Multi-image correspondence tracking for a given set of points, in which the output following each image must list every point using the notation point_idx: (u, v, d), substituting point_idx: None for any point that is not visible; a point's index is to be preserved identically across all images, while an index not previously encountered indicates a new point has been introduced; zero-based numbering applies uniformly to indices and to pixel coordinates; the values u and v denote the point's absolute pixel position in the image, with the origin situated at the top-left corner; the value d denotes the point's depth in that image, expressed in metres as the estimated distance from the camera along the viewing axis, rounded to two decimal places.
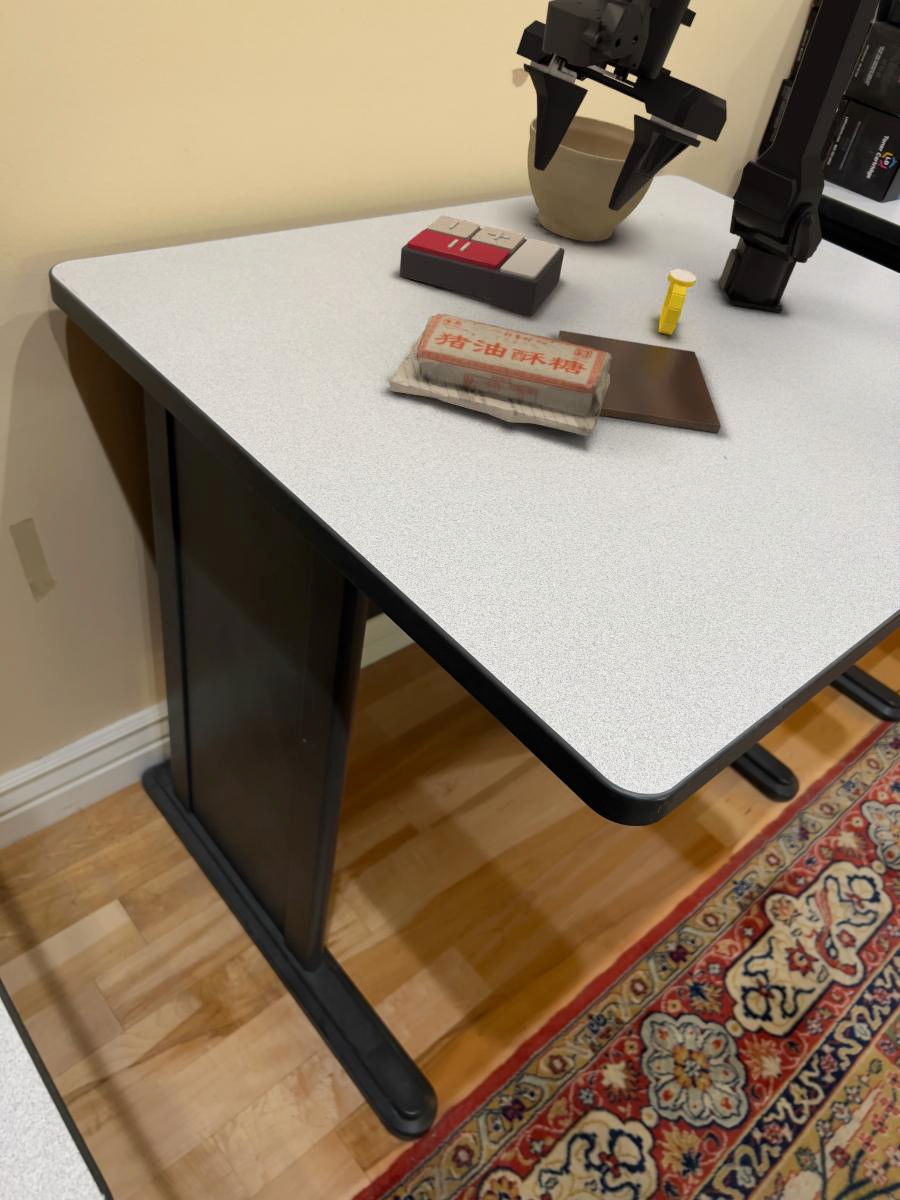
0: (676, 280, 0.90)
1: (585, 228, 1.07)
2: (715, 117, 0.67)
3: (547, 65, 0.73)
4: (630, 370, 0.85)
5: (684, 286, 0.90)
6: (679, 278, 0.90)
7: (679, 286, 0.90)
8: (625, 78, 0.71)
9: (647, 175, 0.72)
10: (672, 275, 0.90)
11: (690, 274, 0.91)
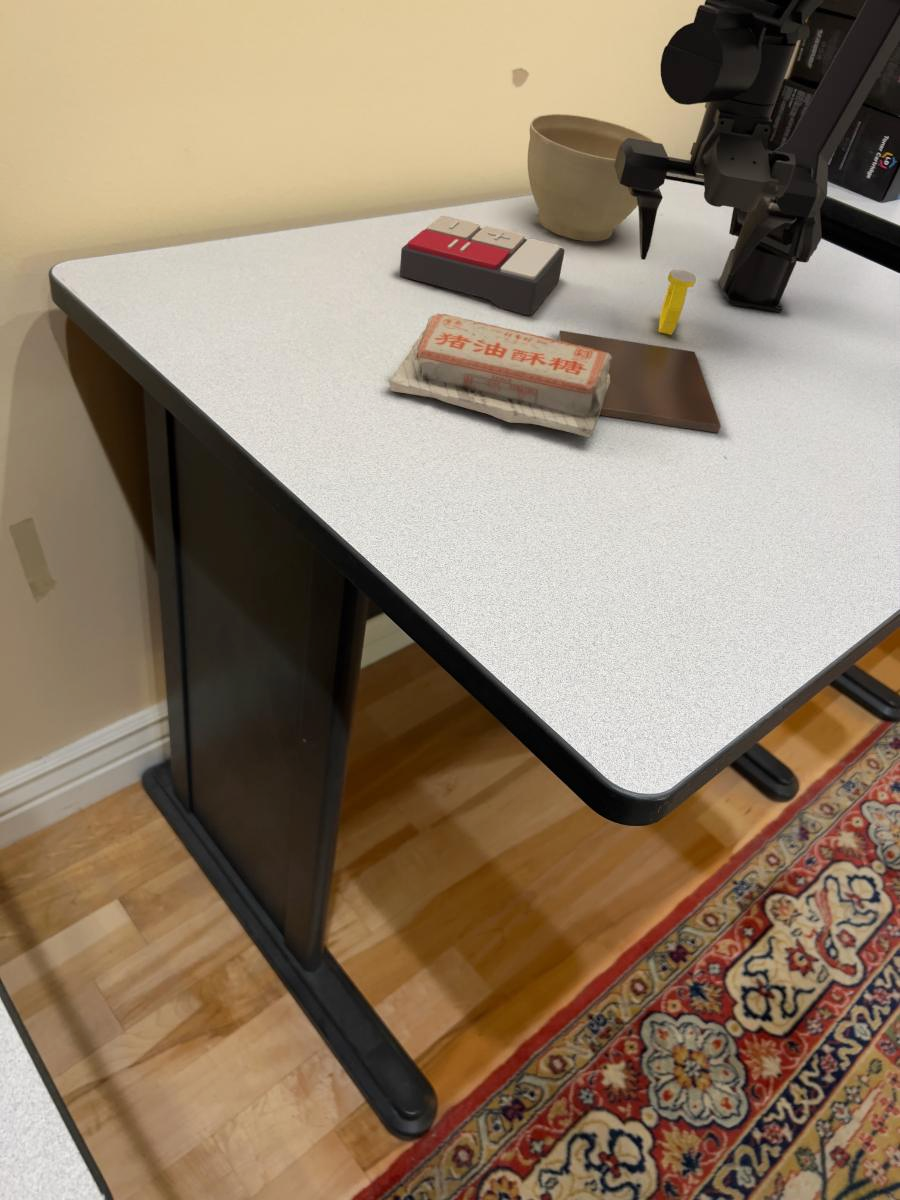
0: (676, 280, 0.90)
1: (585, 228, 1.07)
2: None
3: None
4: (630, 370, 0.85)
5: (683, 286, 0.90)
6: (679, 278, 0.90)
7: (679, 286, 0.90)
8: None
9: None
10: (672, 275, 0.90)
11: (690, 274, 0.91)
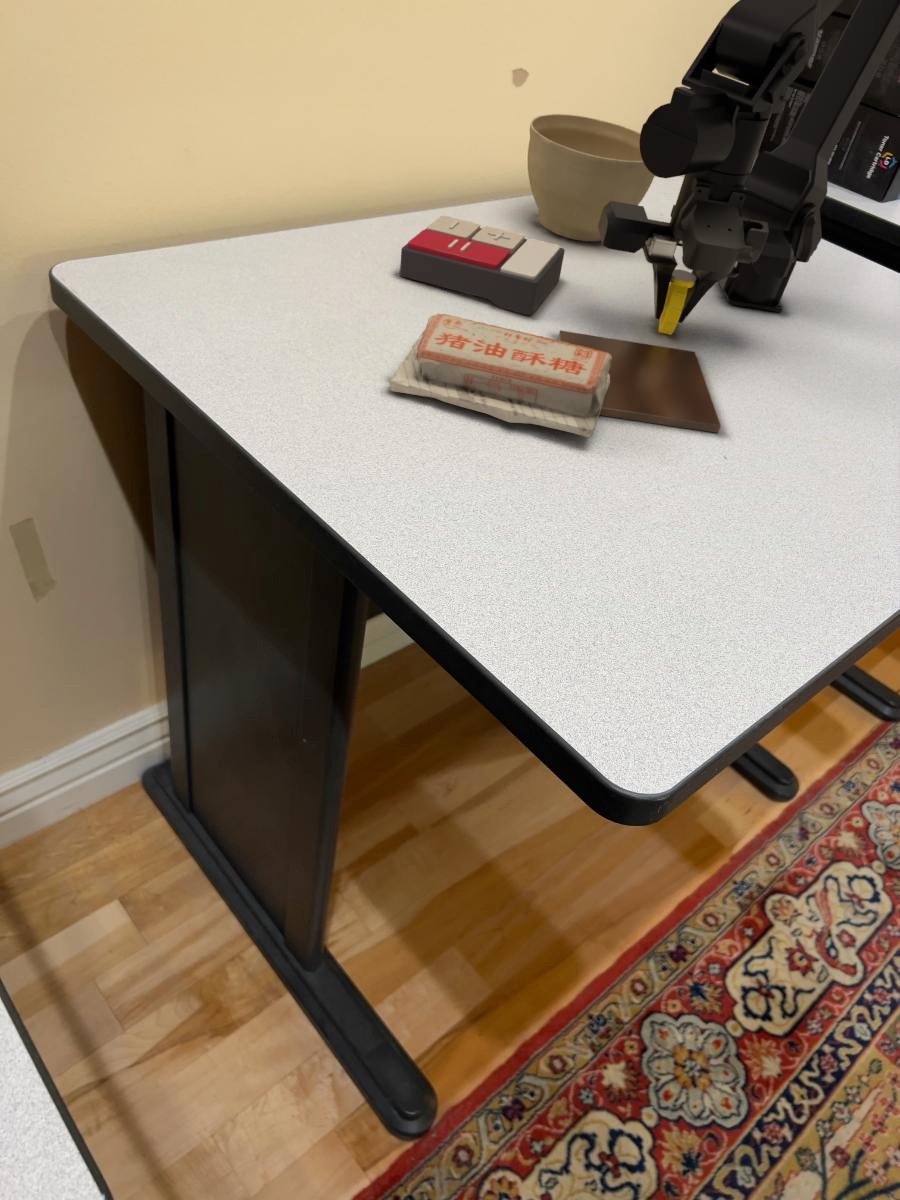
0: (676, 280, 0.90)
1: (585, 228, 1.07)
2: None
3: (670, 254, 0.87)
4: (630, 370, 0.85)
5: (684, 286, 0.90)
6: (679, 278, 0.90)
7: (679, 286, 0.90)
8: None
9: None
10: (672, 275, 0.90)
11: (690, 274, 0.91)
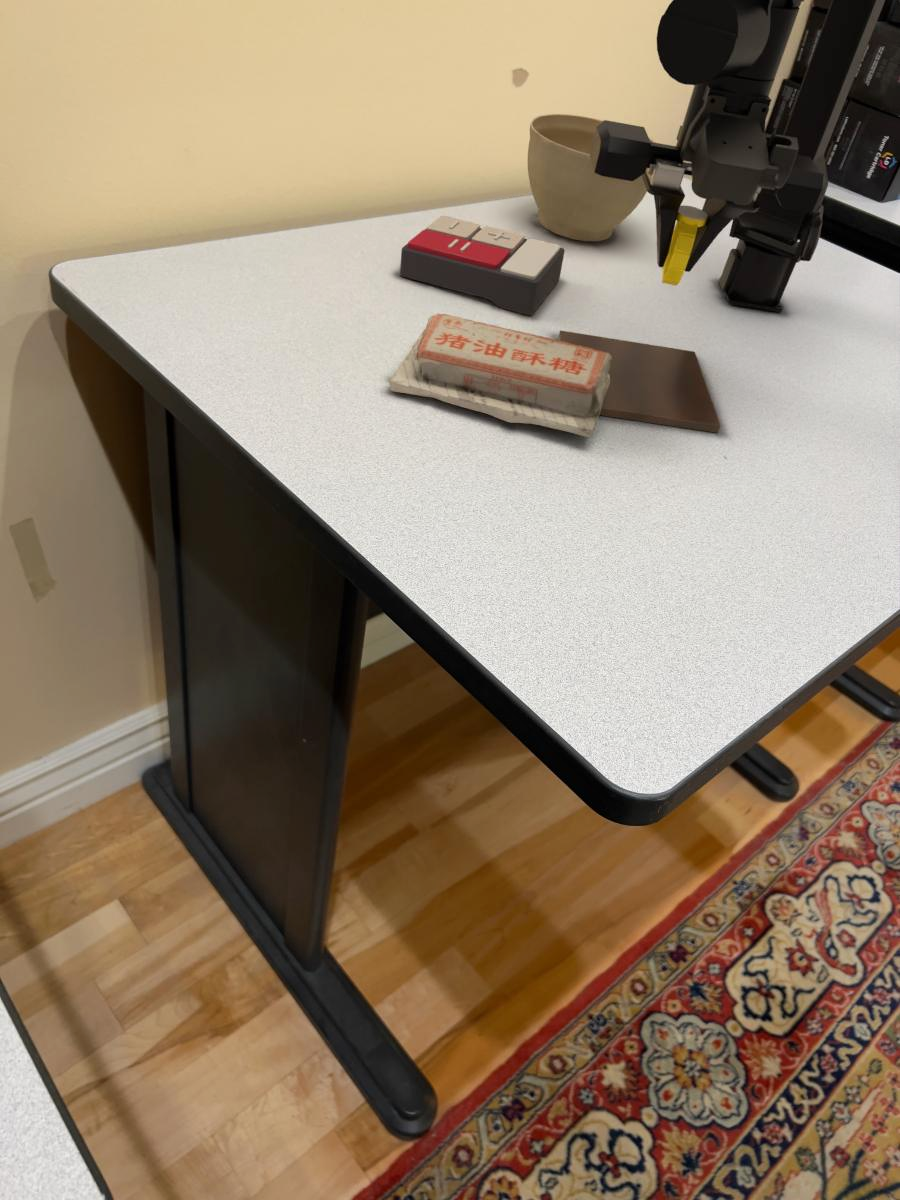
0: (684, 217, 0.74)
1: (585, 228, 1.07)
2: None
3: (676, 183, 0.72)
4: (630, 370, 0.85)
5: (693, 224, 0.75)
6: (687, 215, 0.75)
7: (687, 224, 0.75)
8: None
9: None
10: (679, 211, 0.75)
11: (700, 211, 0.76)
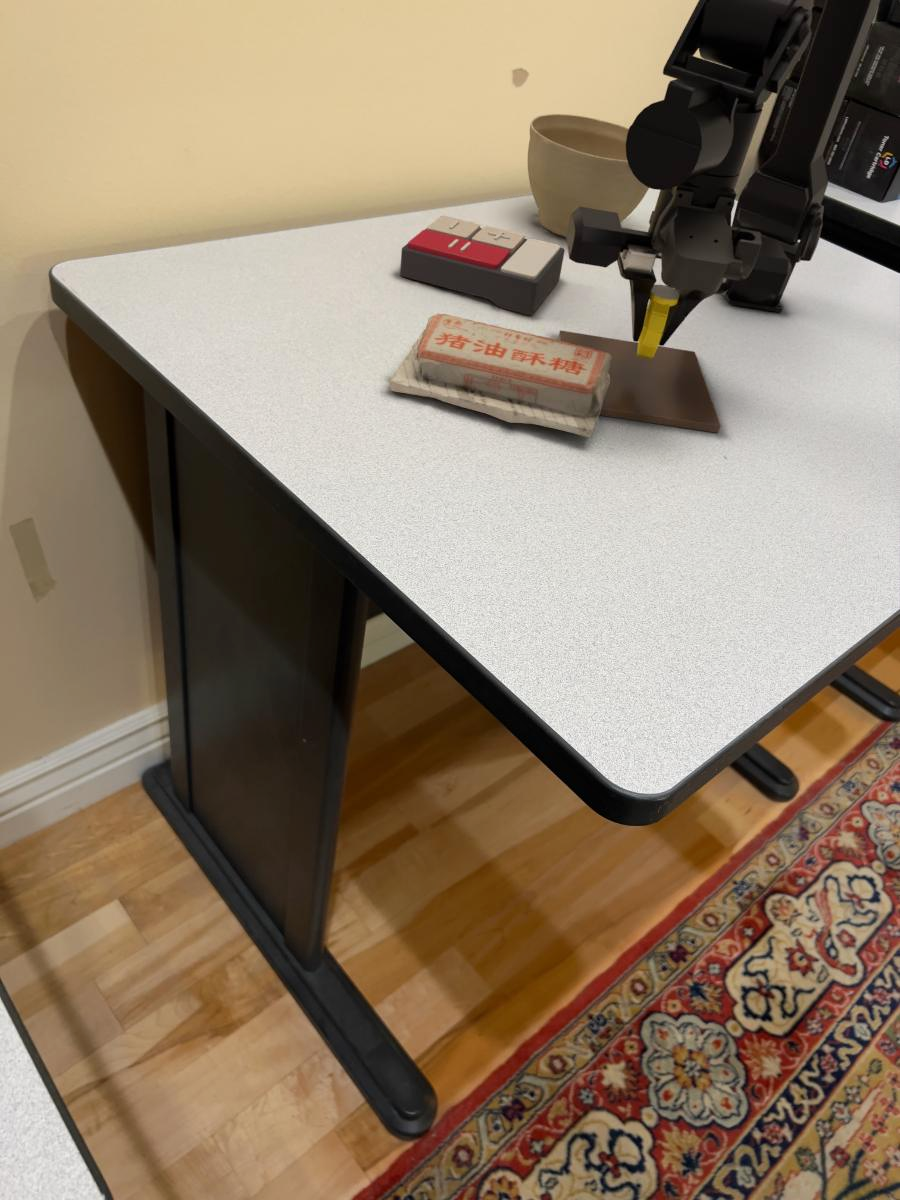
0: (656, 297, 0.78)
1: None
2: None
3: (648, 268, 0.75)
4: (630, 370, 0.85)
5: (665, 304, 0.78)
6: (660, 295, 0.78)
7: (660, 304, 0.78)
8: None
9: None
10: (652, 291, 0.78)
11: (673, 290, 0.79)
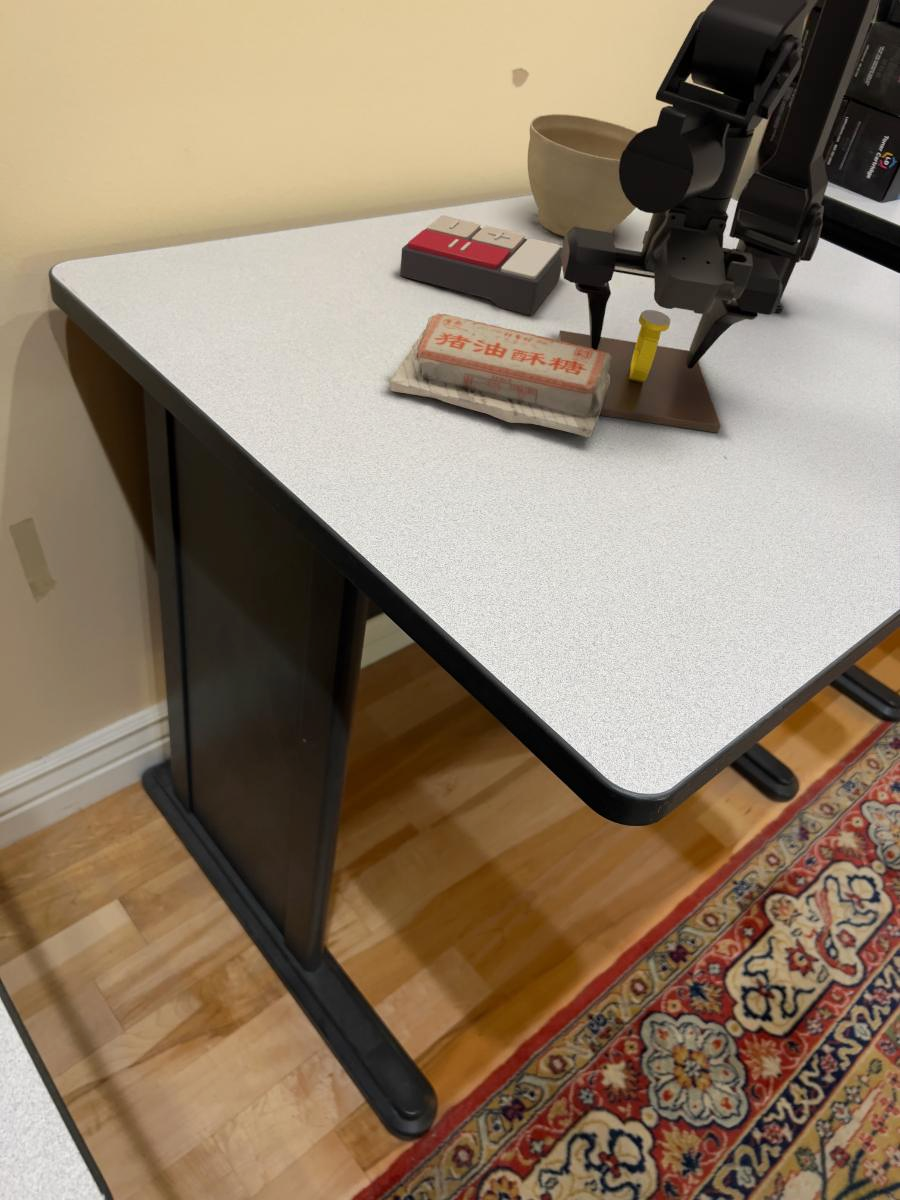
0: (648, 323, 0.79)
1: (585, 228, 1.07)
2: None
3: None
4: None
5: (656, 330, 0.79)
6: (651, 321, 0.79)
7: (651, 330, 0.79)
8: None
9: None
10: (643, 317, 0.80)
11: (664, 316, 0.80)
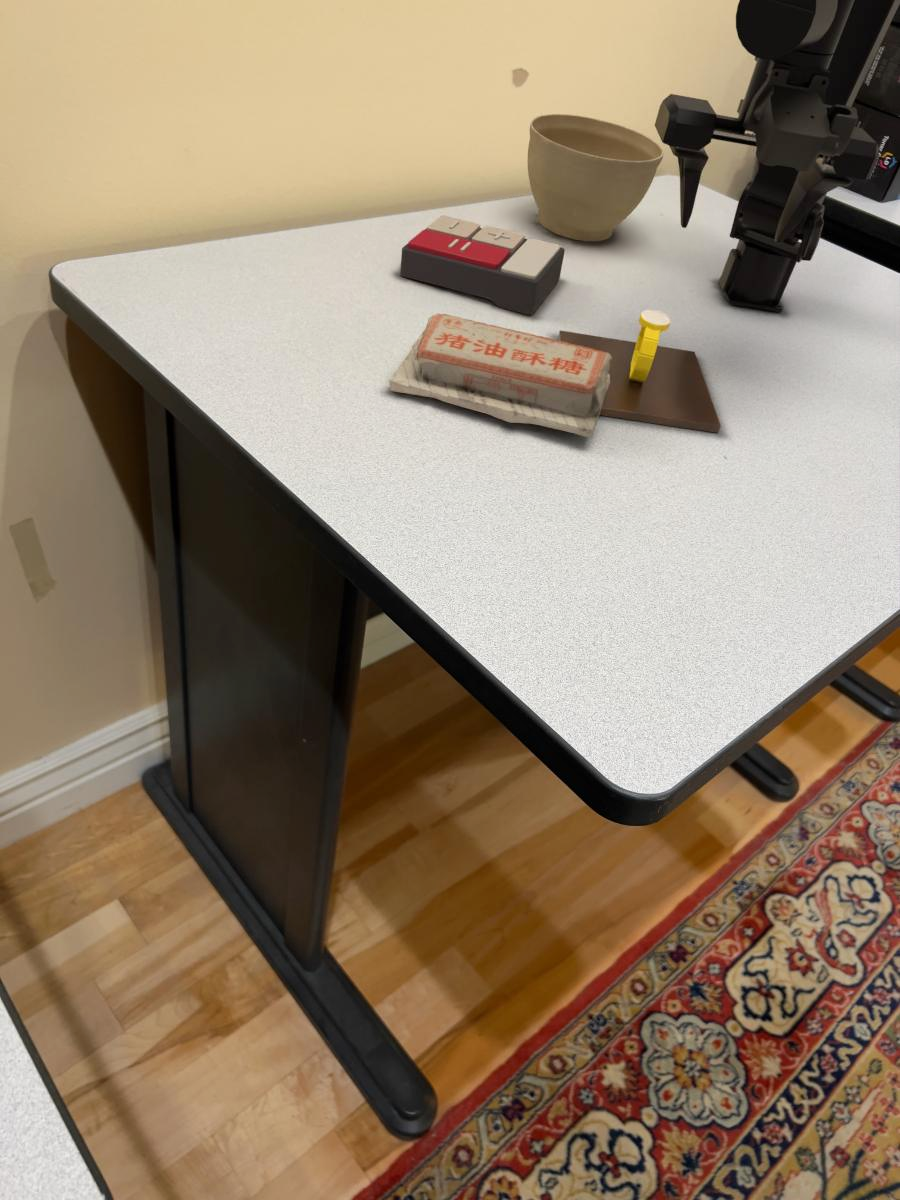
0: (648, 323, 0.79)
1: (585, 228, 1.07)
2: None
3: None
4: None
5: (656, 330, 0.79)
6: (651, 321, 0.79)
7: (651, 330, 0.79)
8: None
9: None
10: (643, 317, 0.80)
11: (664, 316, 0.81)
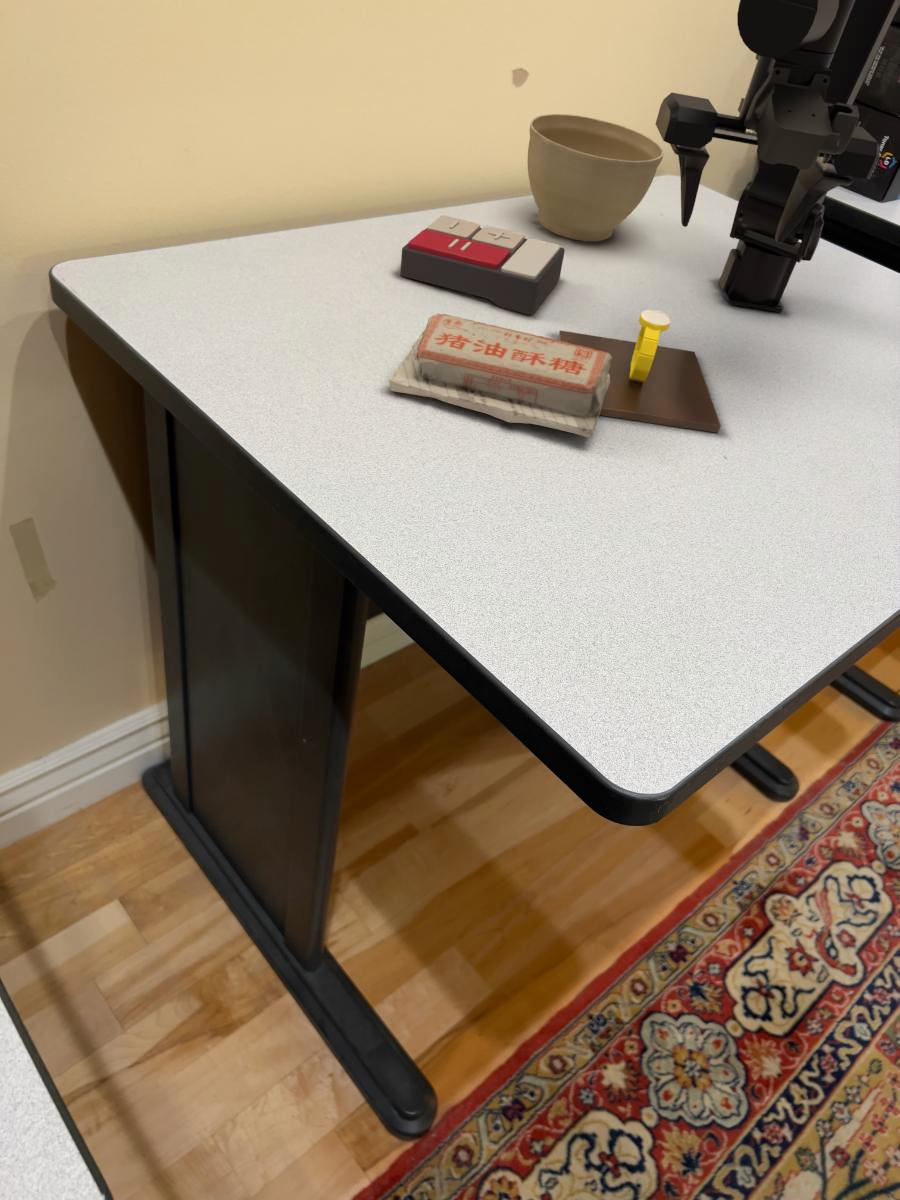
0: (648, 323, 0.79)
1: (585, 228, 1.07)
2: None
3: None
4: None
5: (656, 330, 0.79)
6: (651, 321, 0.79)
7: (651, 330, 0.79)
8: None
9: None
10: (643, 317, 0.80)
11: (664, 316, 0.81)
